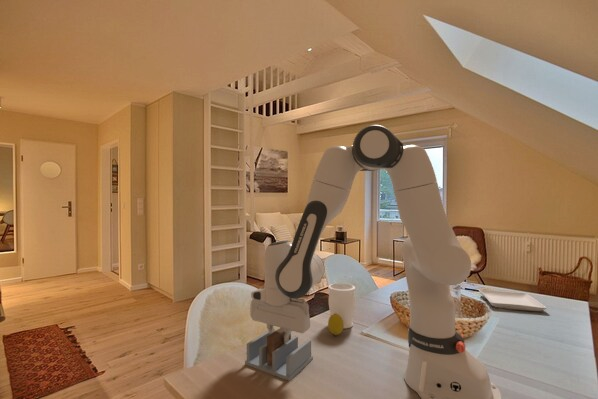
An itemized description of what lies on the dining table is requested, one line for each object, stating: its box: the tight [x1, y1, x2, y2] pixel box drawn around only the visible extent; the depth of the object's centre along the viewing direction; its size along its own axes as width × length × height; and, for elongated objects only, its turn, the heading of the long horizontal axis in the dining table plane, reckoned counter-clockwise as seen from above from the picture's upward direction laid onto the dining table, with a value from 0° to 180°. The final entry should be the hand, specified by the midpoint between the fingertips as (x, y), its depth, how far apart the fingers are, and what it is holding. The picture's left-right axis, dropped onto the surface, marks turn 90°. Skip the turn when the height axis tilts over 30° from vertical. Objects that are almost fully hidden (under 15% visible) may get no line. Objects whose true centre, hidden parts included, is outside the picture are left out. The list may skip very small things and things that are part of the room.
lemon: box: [327, 313, 344, 336], centre depth 108 cm, size 6×6×8 cm
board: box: [267, 327, 292, 365], centre depth 91 cm, size 2×9×8 cm, turn 148°
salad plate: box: [478, 289, 547, 312], centre depth 140 cm, size 21×21×3 cm
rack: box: [244, 330, 314, 382], centre depth 91 cm, size 16×13×6 cm
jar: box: [328, 282, 357, 330], centre depth 118 cm, size 11×10×15 cm
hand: (279, 340), depth 91 cm, fingers open, 3 cm apart
